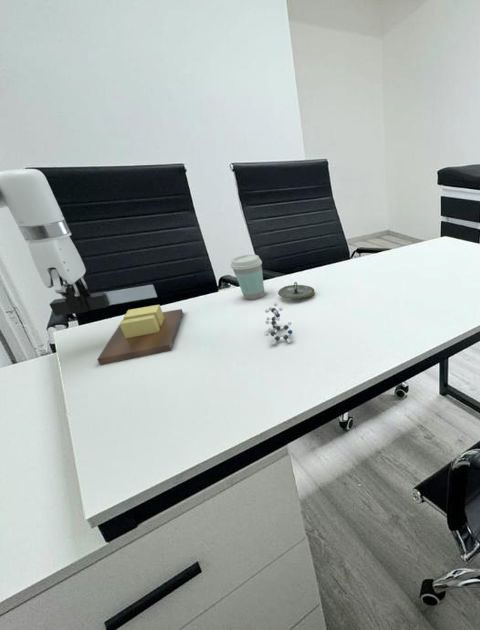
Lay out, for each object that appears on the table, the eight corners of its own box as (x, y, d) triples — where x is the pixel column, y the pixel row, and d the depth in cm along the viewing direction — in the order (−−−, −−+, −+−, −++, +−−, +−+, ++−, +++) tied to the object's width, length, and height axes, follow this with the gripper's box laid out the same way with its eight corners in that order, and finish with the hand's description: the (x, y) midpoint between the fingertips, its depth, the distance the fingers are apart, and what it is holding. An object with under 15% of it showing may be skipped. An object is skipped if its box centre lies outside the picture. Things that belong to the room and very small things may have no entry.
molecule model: (267, 356, 90) (275, 331, 86) (255, 322, 97) (261, 297, 93) (294, 354, 94) (302, 330, 90) (280, 321, 101) (287, 297, 97)
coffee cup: (265, 288, 123) (257, 252, 118) (272, 296, 117) (263, 258, 112) (237, 295, 119) (227, 257, 114) (242, 304, 113) (232, 265, 108)
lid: (278, 299, 119) (271, 286, 116) (306, 284, 122) (300, 270, 120) (291, 311, 111) (283, 298, 108) (320, 295, 115) (314, 281, 112)
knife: (55, 316, 87) (48, 303, 86) (60, 311, 90) (54, 298, 88) (156, 298, 94) (151, 286, 92) (158, 294, 96) (154, 282, 95)
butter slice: (125, 338, 93) (119, 323, 91) (127, 335, 95) (121, 320, 93) (158, 332, 96) (152, 317, 94) (160, 328, 97) (154, 314, 95)
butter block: (129, 331, 96) (123, 317, 95) (134, 323, 101) (128, 309, 99) (161, 325, 99) (155, 311, 97) (164, 318, 103) (159, 304, 101)
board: (99, 364, 86) (97, 359, 85) (125, 324, 104) (123, 319, 103) (171, 350, 90) (169, 344, 90) (183, 313, 109) (181, 308, 108)
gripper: (41, 226, 87) (77, 299, 96) (3, 243, 74) (49, 327, 82) (81, 221, 90) (112, 294, 98) (51, 237, 76) (91, 320, 84)
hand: (83, 308), depth 90 cm, fingers closed on knife, 3 cm apart
